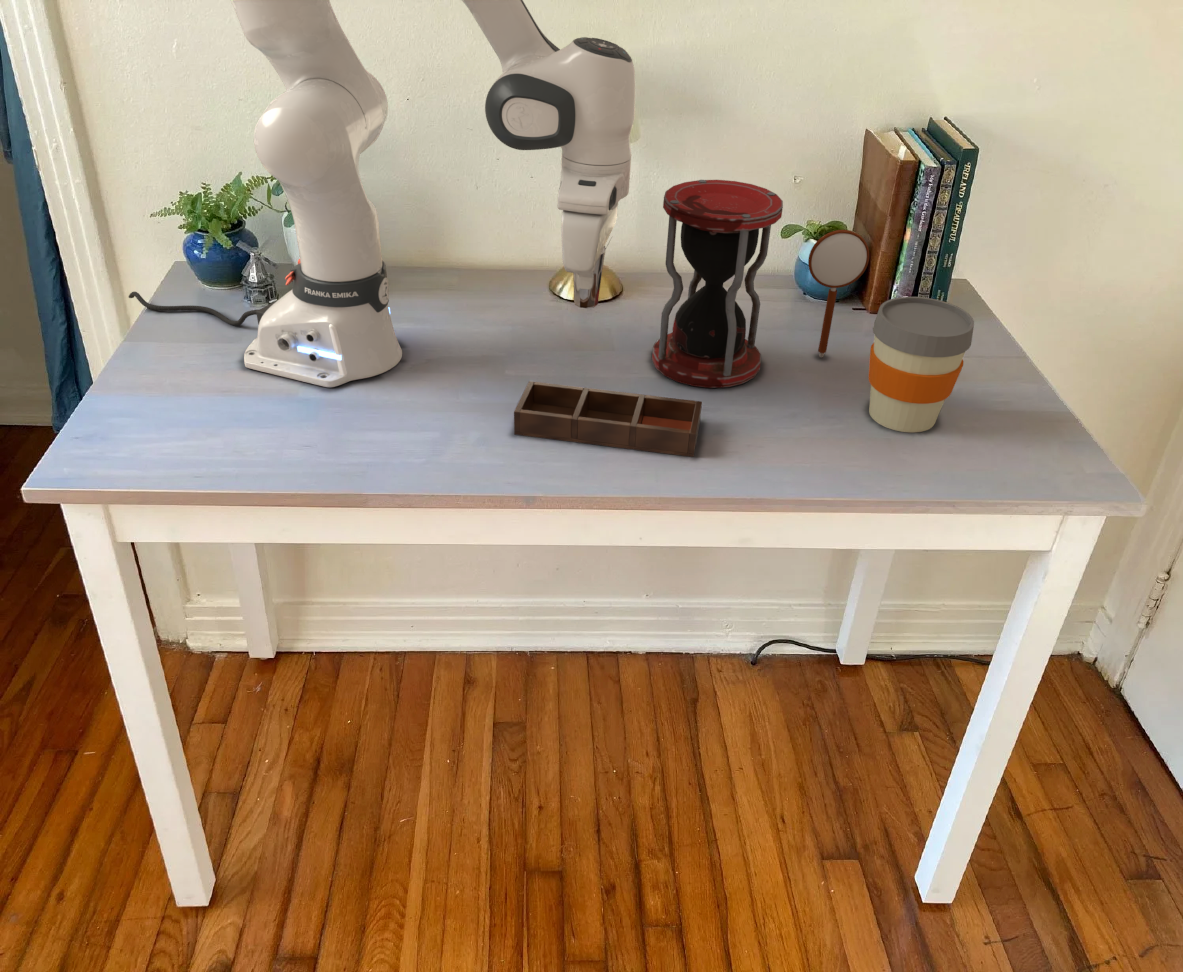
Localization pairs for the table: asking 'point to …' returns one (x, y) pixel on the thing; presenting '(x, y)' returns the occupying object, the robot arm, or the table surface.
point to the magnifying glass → (836, 269)
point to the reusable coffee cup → (915, 360)
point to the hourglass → (714, 281)
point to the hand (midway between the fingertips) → (589, 279)
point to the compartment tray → (608, 418)
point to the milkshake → (590, 297)
